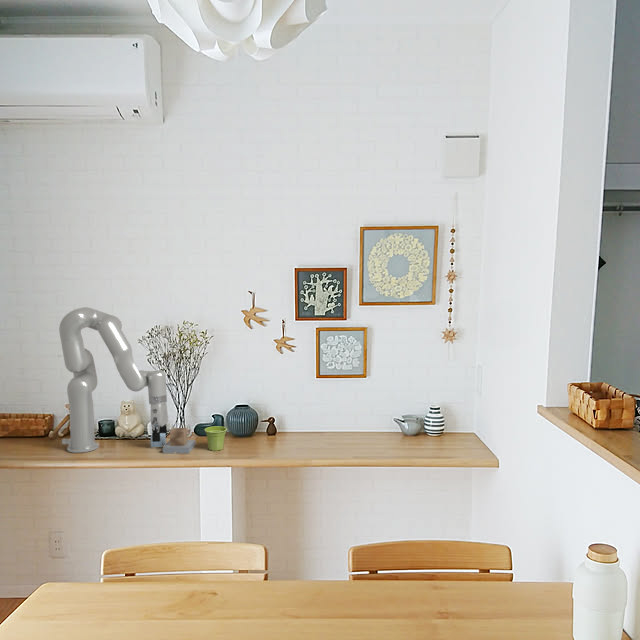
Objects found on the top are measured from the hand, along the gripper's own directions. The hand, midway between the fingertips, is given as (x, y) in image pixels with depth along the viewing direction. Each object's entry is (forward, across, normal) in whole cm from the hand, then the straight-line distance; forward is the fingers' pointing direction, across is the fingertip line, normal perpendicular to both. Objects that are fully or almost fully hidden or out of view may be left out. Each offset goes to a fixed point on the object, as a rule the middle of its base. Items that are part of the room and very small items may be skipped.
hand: (159, 438), depth 260 cm
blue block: (+3, 0, +1) cm, 3 cm away
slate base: (+4, -5, -10) cm, 12 cm away
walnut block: (+1, -5, -10) cm, 11 cm away
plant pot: (+4, -4, -25) cm, 26 cm away
